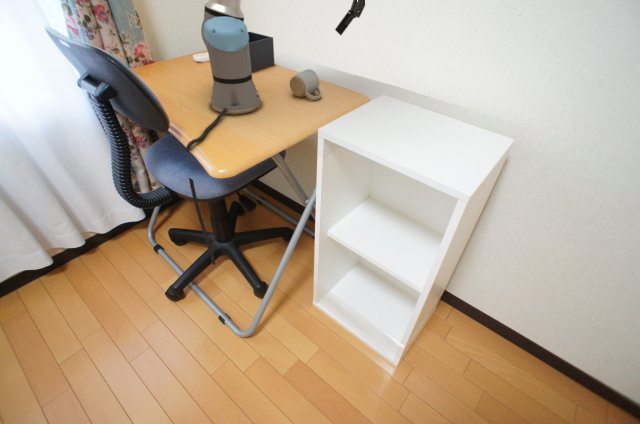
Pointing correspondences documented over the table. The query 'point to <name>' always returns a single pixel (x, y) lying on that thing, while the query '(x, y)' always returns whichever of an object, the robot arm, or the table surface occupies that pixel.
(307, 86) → the ceramic mug
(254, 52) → the storage box
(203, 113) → the table surface
